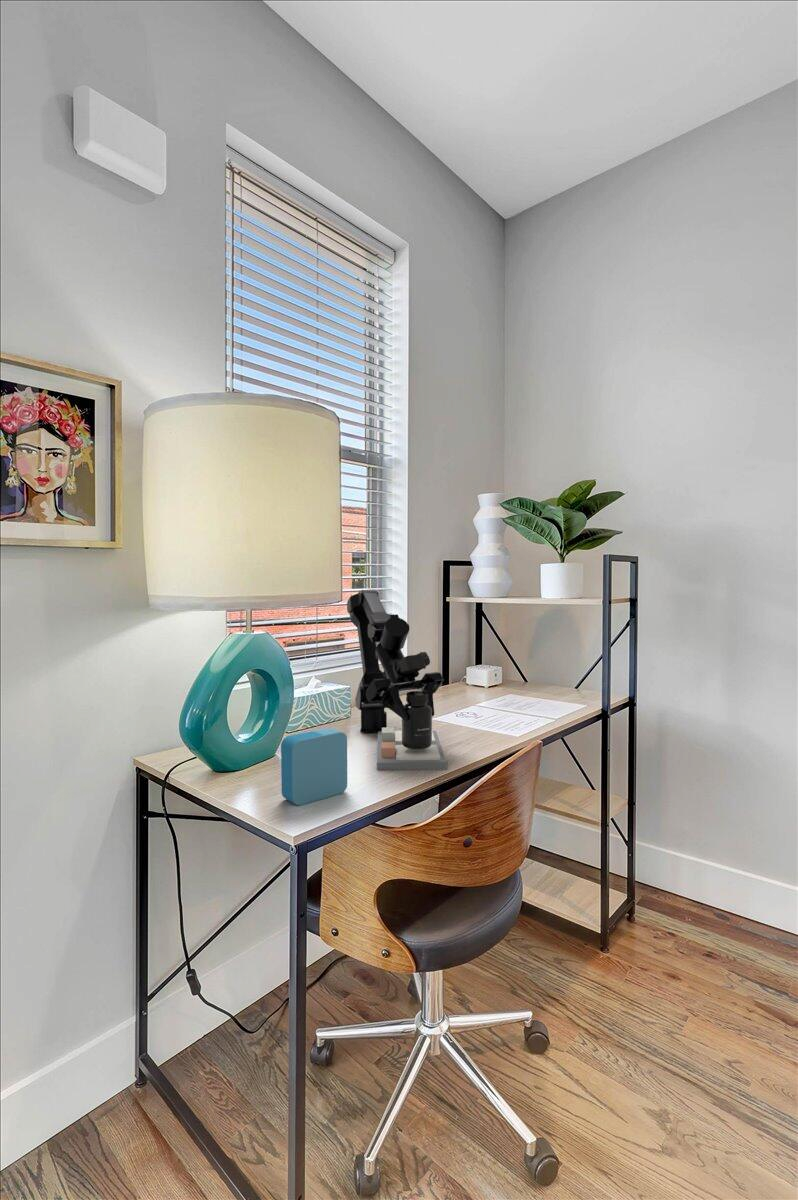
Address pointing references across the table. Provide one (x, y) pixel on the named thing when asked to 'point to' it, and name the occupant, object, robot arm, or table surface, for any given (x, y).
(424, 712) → the supplement bottle
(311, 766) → the blue rounded square block
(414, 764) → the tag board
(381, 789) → the table surface
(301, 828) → the table surface
